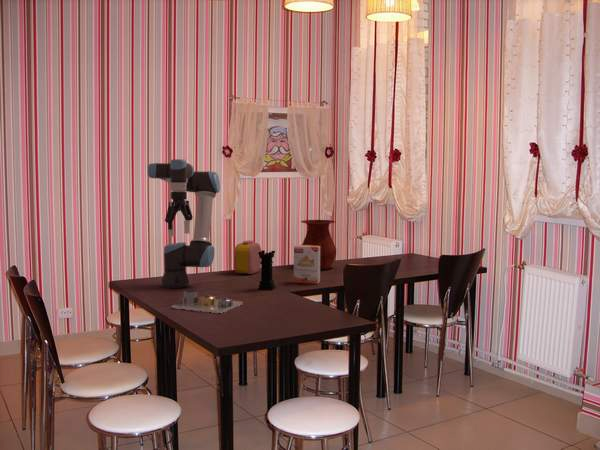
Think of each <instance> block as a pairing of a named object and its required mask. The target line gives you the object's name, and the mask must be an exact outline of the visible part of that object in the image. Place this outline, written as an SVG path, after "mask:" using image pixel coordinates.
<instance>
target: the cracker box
mask: <svg viewBox="0 0 600 450" xmlns="http://www.w3.org/2000/svg"><path fill="white" fill-rule="evenodd" d="M320 282H321V270H320V246H308V245H302V244H295V245H294V246H293V283H294V284H308V285H309V284H310V285H319V283H320Z"/></svg>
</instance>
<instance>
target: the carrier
mask: <svg viewBox="0 0 600 450" xmlns="http://www.w3.org/2000/svg"><path fill="white" fill-rule="evenodd" d="M198 297H199V302H196V303H190V304H188V303H183V302H182V301H180V302H178V303H174V304H172V305H171V309H172V308H175V309H174V310H181V309H185V310H184V311H190V310H193V312H200V311H201V313H209V312H211V313H212V314H218V313H222V314H224V313H226V312H229V311H231V310H233V308H234V309H236V308H238V307H241V306H243V301H239V300H234V299H232V298H227V297H222V298H219V299H217V296H214V295H210V294H205V295H202V296H201V295H200V296H198ZM240 305H241V306H240ZM237 306H238V307H237ZM235 307H236V308H235ZM230 309H231V310H230ZM228 310H229V311H228ZM223 312H224V313H223ZM211 313H210V314H211Z"/></svg>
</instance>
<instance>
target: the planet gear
mask: <svg viewBox="0 0 600 450" xmlns="http://www.w3.org/2000/svg"><path fill="white" fill-rule="evenodd" d="M199 297H200V296H199V294H198V290H197V289H196V290H195V289H188V290H184V291H183V296H182V297H181V300H182V301H181V302H183V303H188V304H190V303H196V302H199Z"/></svg>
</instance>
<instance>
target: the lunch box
mask: <svg viewBox="0 0 600 450" xmlns="http://www.w3.org/2000/svg"><path fill="white" fill-rule="evenodd" d="M261 251H262V247H261V245H260V244H259V243H258V242H254V240H244V241H242V242H240V243H238V244H236V246H235V247H234V256H233V258H234V259H233V260H234V262H233V263H234V270H235V271H234V272H235V273H236V274H239V275H240V274H247V275H254V274H256V273H258V272H259V271H260V270H261V264H260V262H261V258H259V254H258V252H261Z"/></svg>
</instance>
